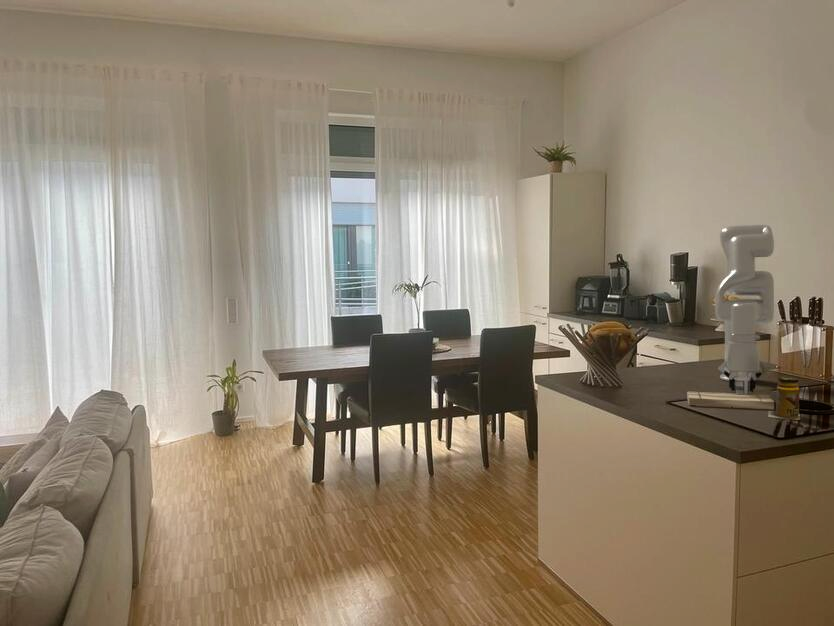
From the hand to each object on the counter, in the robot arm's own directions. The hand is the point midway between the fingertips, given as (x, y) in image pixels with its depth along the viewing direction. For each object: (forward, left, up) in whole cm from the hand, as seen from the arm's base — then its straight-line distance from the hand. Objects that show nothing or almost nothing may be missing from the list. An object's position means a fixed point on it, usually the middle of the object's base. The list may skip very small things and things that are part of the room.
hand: (742, 390), depth 218 cm
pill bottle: (0, 0, -2) cm, 2 cm away
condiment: (+22, +9, -3) cm, 24 cm away
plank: (+10, -5, -3) cm, 11 cm away
